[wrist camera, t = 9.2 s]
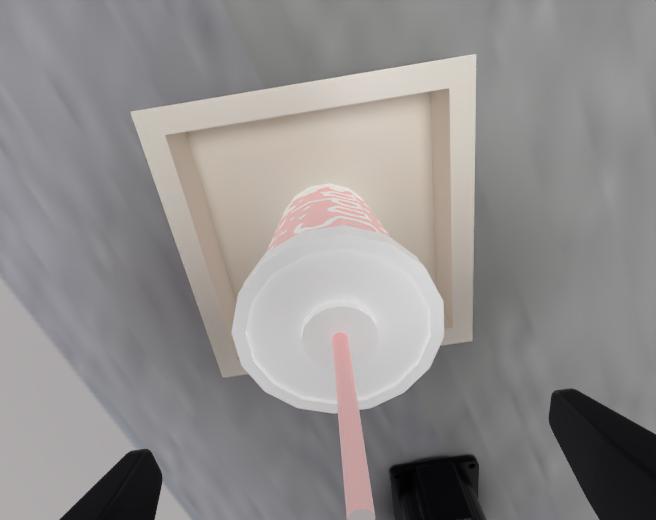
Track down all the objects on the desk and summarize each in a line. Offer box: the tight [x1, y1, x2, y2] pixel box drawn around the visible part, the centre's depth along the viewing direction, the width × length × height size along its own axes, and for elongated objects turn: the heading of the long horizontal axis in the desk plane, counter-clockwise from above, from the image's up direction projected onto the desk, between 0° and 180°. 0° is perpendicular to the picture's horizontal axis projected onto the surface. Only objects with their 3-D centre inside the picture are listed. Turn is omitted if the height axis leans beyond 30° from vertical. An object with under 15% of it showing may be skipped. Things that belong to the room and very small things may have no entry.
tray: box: [130, 54, 476, 378], centre depth 18 cm, size 13×13×4 cm
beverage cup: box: [231, 183, 444, 520], centre depth 12 cm, size 6×6×14 cm
